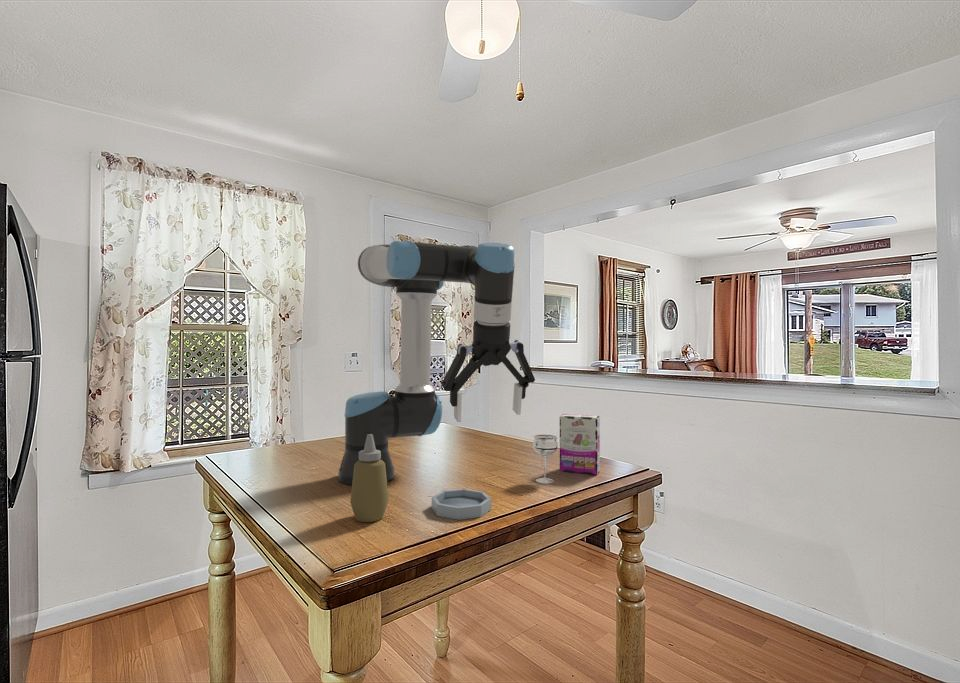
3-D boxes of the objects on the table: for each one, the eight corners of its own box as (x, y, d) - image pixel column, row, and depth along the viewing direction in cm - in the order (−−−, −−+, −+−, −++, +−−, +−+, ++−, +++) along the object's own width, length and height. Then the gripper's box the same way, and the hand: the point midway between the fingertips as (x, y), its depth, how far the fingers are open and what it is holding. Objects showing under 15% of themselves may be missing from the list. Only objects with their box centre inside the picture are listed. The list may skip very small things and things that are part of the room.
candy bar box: (600, 471, 145) (600, 415, 145) (597, 475, 141) (598, 418, 141) (562, 467, 150) (563, 413, 150) (558, 471, 145) (559, 415, 145)
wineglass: (541, 475, 140) (541, 433, 140) (562, 480, 136) (562, 436, 136) (527, 481, 135) (528, 437, 135) (549, 485, 130) (549, 440, 130)
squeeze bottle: (379, 526, 102) (380, 439, 102) (343, 523, 103) (343, 437, 103) (394, 513, 110) (394, 432, 110) (360, 510, 111) (360, 430, 111)
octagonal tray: (422, 513, 110) (423, 501, 110) (450, 496, 121) (450, 486, 121) (473, 522, 104) (473, 510, 104) (497, 504, 116) (497, 494, 116)
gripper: (436, 329, 93) (435, 430, 100) (555, 322, 101) (547, 416, 107) (427, 319, 100) (427, 414, 106) (539, 313, 108) (532, 402, 114)
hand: (487, 415), depth 107 cm, fingers open, 13 cm apart
